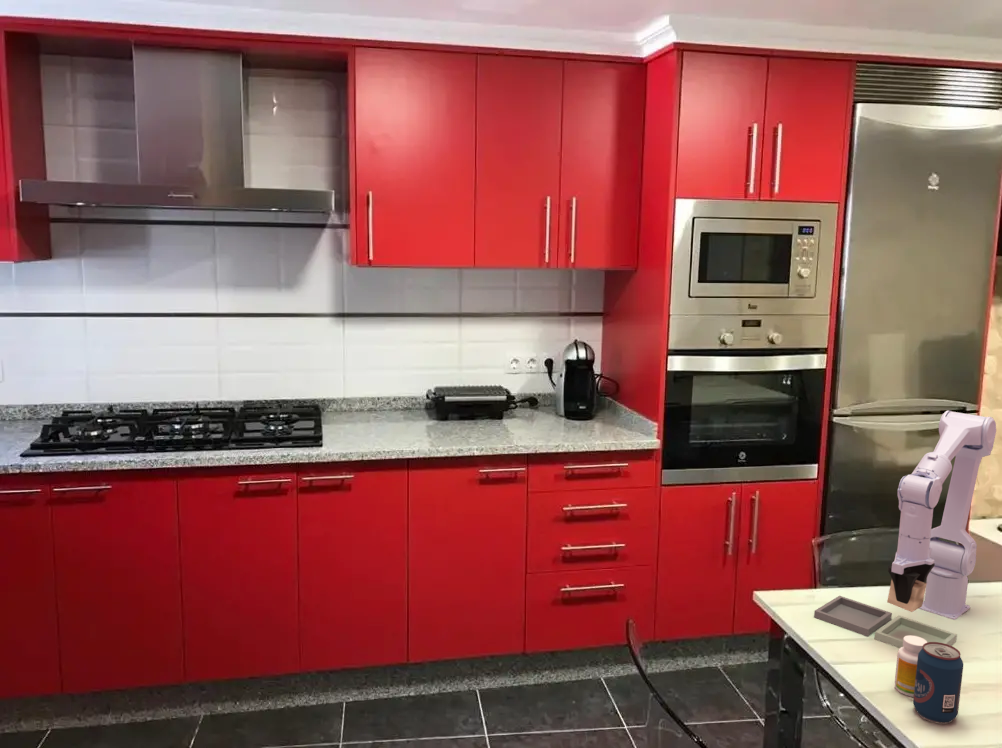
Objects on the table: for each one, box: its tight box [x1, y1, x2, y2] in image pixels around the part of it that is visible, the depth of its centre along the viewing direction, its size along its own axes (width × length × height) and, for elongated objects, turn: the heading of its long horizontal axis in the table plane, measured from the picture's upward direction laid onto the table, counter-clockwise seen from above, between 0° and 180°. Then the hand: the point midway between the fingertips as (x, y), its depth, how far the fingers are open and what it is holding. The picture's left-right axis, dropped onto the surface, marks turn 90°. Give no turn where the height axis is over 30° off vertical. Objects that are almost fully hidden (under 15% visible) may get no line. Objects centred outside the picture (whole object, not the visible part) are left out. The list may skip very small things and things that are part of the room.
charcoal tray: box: [813, 595, 893, 638], centre depth 181 cm, size 12×12×2 cm
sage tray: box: [873, 614, 958, 649], centre depth 172 cm, size 12×12×2 cm
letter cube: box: [886, 579, 926, 613], centre depth 172 cm, size 5×5×5 cm
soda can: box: [912, 642, 964, 724], centre depth 145 cm, size 7×7×12 cm
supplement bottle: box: [894, 635, 927, 698], centre depth 152 cm, size 5×5×10 cm
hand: (908, 597), depth 172 cm, fingers closed on letter cube, 5 cm apart
